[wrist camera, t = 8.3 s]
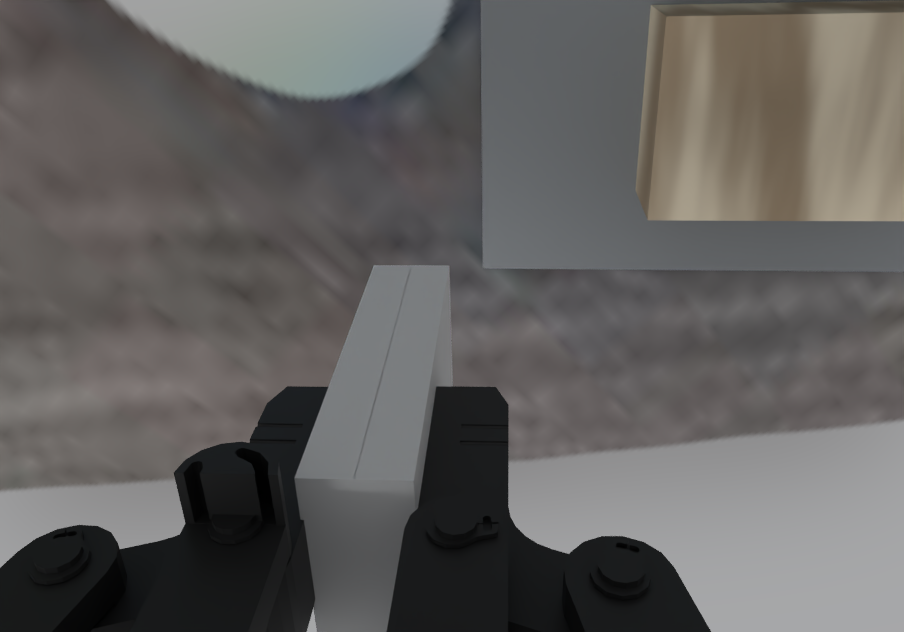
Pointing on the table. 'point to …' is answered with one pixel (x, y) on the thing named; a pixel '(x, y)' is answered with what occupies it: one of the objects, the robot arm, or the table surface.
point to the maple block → (773, 112)
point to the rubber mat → (613, 157)
